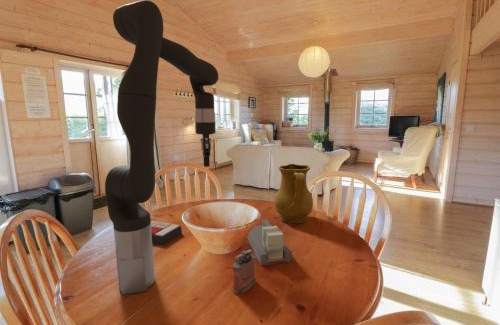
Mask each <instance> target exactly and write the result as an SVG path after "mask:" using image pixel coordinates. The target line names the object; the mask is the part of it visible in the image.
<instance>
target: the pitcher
mask: <svg viewBox="0 0 500 325" xmlns="http://www.w3.org/2000/svg"><path fill="white" fill-rule="evenodd" d="M310 170H311V166H310V165H307V164H296V163H288V164H286V165H280V166H279V167H278V171H280V174H281V181H280V186H279V188H278V191H276V194H275V196H274V208H275V211H276V213H278V214H279V215H280V217H279V221H282V222H284V223H288V224H303V223H306V222H307V221H308V220H307V218H308V217H307V216H309V215H310V214H312V211H313V208H314V206H313V205H314V199H313V196H312V193H311V192H310V190H309V189H308V186H307V174H308V172H309V171H310Z"/></svg>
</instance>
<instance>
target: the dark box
mask: <svg viewBox="0 0 500 325" xmlns="http://www.w3.org/2000/svg"><path fill="white" fill-rule="evenodd" d="M151 233H152V244H154V245H155V244H156V245H159V246H165V245H167V244H169V243H170V242H172V241H174V240H175V239H176V238H177V237H179V236H181V235H182V233H183V231H182V225H179V224H172V223H169V222H168V223H167V222H160V221H153V220H151Z"/></svg>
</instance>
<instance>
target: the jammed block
mask: <svg viewBox="0 0 500 325" xmlns="http://www.w3.org/2000/svg"><path fill="white" fill-rule="evenodd" d="M283 242H284V233H283V232H282V231H281V230H280V228H279V227H278V226H277V225H271V226H269V227H262V247H263V248H264V250H265V252H266V254H267V259H268V260H270V259H278V258H283Z"/></svg>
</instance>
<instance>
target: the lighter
mask: <svg viewBox="0 0 500 325" xmlns="http://www.w3.org/2000/svg"><path fill="white" fill-rule="evenodd" d="M256 258H257V257H256V255H255V254H253V249H247V250H242V251H241V253H240V254H238V255H236V256H235V257H234V263H233V264H232V271H233V273H232V276H233V287H232V293H234V294H236V295H241V294H243V293H245V292H246V291H248V290H249V289H251V288H252V287H253V286H254V285H255V283H257V282H256V280H257V278H256V268H255V267H256V260H257V259H256Z"/></svg>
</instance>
